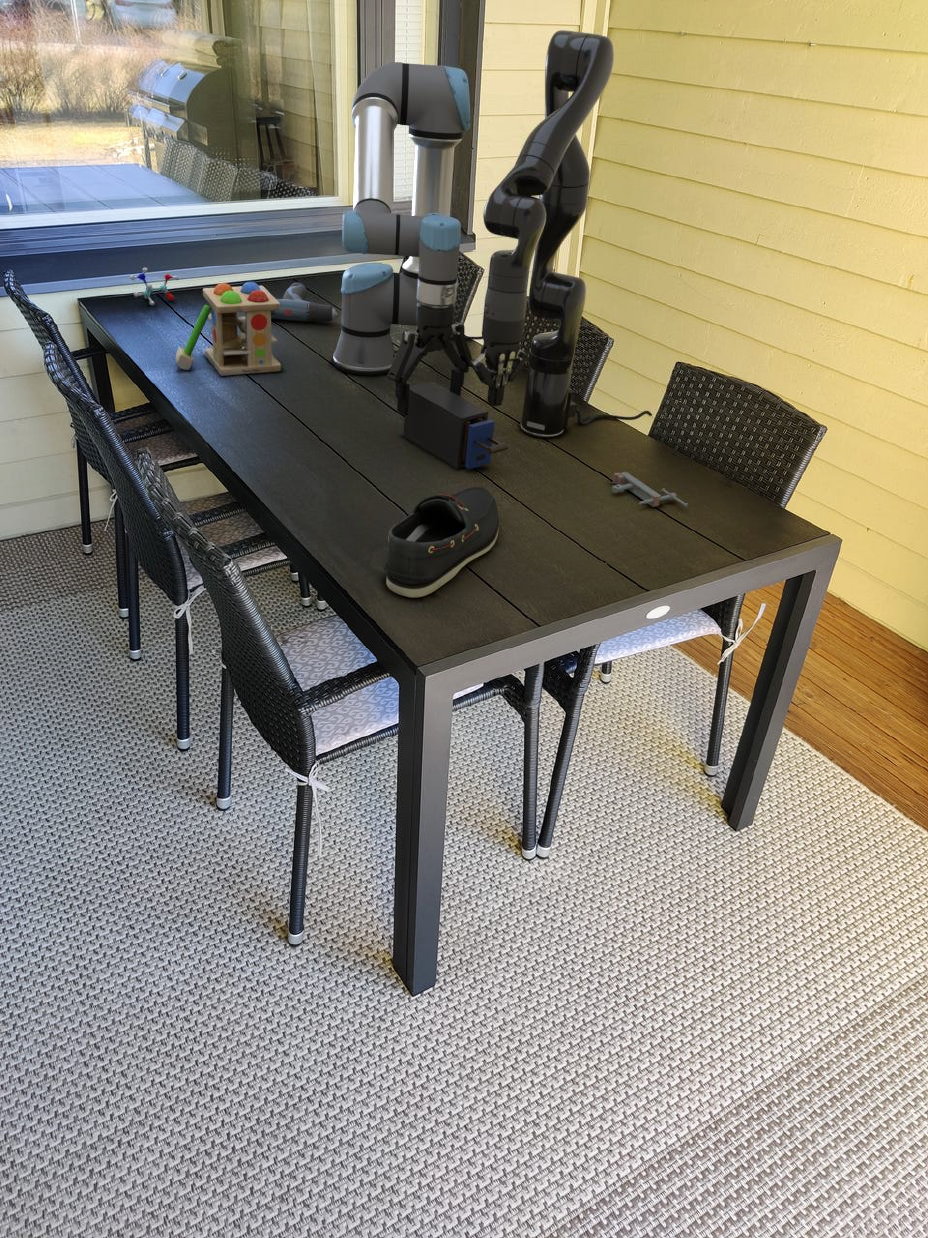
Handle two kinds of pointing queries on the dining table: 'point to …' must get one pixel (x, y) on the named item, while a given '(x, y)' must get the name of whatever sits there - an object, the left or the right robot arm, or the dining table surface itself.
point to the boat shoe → (440, 540)
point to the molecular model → (150, 289)
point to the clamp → (623, 484)
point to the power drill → (301, 307)
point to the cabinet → (439, 421)
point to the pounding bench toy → (229, 347)
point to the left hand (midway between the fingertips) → (429, 407)
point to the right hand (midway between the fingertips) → (494, 404)
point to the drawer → (479, 443)
